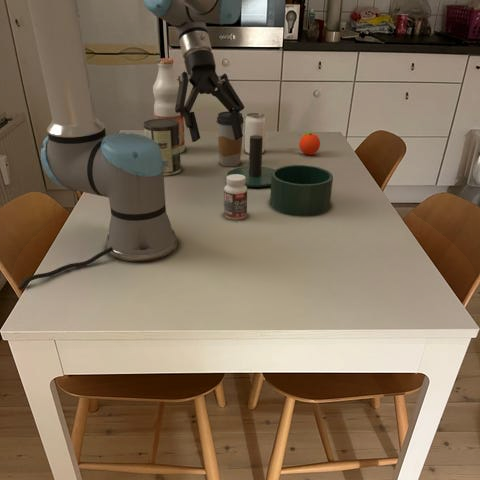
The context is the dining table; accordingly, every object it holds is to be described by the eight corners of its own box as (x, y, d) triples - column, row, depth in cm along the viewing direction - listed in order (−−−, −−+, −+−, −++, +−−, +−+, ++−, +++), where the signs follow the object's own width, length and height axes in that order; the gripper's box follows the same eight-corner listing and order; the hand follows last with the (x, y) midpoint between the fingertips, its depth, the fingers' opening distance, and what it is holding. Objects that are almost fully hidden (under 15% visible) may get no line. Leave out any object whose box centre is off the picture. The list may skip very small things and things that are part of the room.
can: (264, 155, 171) (265, 117, 164) (244, 154, 171) (245, 117, 164) (263, 149, 177) (265, 112, 170) (244, 149, 177) (245, 112, 170)
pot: (323, 219, 128) (327, 188, 123) (263, 211, 132) (264, 181, 127) (333, 197, 140) (337, 168, 136) (278, 190, 144) (279, 162, 139)
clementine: (291, 154, 172) (293, 132, 168) (301, 149, 177) (303, 128, 173) (312, 159, 168) (315, 136, 164) (322, 153, 173) (324, 132, 169)
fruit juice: (151, 151, 173) (143, 59, 157) (171, 145, 179) (166, 56, 163) (170, 156, 168) (164, 62, 152) (190, 150, 174) (186, 59, 158)
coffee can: (171, 163, 163) (168, 116, 155) (187, 172, 156) (185, 124, 148) (141, 168, 158) (137, 120, 150) (156, 178, 151) (152, 128, 143)
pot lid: (275, 191, 143) (277, 147, 136) (219, 185, 147) (218, 141, 140) (288, 173, 156) (291, 132, 149) (236, 167, 160) (237, 127, 153)
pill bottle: (237, 222, 126) (237, 182, 120) (219, 216, 129) (219, 177, 123) (251, 215, 130) (252, 176, 124) (233, 209, 133) (233, 171, 127)
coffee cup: (248, 162, 164) (249, 113, 156) (234, 169, 159) (234, 118, 150) (226, 157, 168) (226, 109, 160) (211, 164, 162) (210, 114, 154)
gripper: (162, 44, 119) (184, 135, 121) (244, 51, 134) (263, 132, 136) (148, 60, 125) (169, 146, 127) (228, 65, 140) (247, 142, 142)
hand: (218, 139), depth 131 cm, fingers open, 13 cm apart
